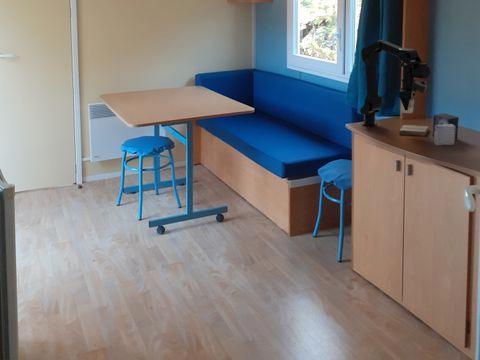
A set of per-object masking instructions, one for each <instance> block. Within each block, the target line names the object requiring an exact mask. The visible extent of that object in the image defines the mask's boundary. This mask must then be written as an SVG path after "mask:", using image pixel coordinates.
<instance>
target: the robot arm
mask: <svg viewBox="0 0 480 360" xmlns="http://www.w3.org/2000/svg"><path fill="white" fill-rule="evenodd" d="M383 51H384V52H386V53H389V54H391V55H394V56H396V58H397V59H399V61H400V62H401V63H400V64H399V65H398V67H401V68H402V77H401V81H400V82H401V87H400V91H399V92H398V93H397V98H399V99H400V100H401V101H402V104H403V106H404V109H405V110H408V106H409V101H410V99H413V97H414V96H415V95H417V92H420V93H421V94H424V93H425V92H426V89H427V88H428V85H427V84H426V83H427V82H426V81H424V80H421V82H419V81H417V78H418V79H425V80H426V79H428V78H429V76H430V75H431V69H430V66H428V63H426V62H425V63H423V61H422V59H421V58H420V55H419V53H418V51H417V50H416V49H414V48H410V47H409V48H407V47H406V48H405V47H402V46H399V45H396V44H395V43H392V42H389V41H387V40H385V39H379V40H377V41H375V42H373V43H372V44H370V45H368V46H365V47H363V48H362V49H361V59H362V62H363V63H364V65H365V75H366V76H365V77H366V93H367V94H366V96H365V98H364V104H363V105H362V106H361V108H360V109H359V112H360V114H362V115H363V123H362V124H361V126H367V127H375V126H376V125H377V124H378V122H376V114H377V113H379V112H380V110H381V108H382V104H383V97H382V95H379V93H378V86H377V85H378V81H377V80H378V79H377V66H376V65H377V62H378V60H379V54H381V52H383Z"/></svg>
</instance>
